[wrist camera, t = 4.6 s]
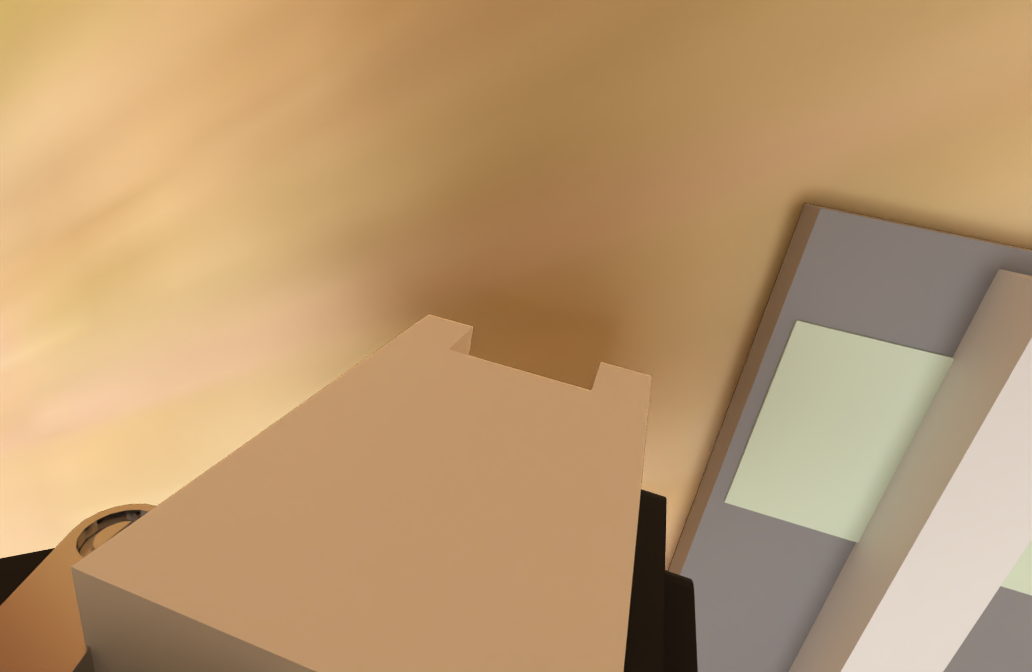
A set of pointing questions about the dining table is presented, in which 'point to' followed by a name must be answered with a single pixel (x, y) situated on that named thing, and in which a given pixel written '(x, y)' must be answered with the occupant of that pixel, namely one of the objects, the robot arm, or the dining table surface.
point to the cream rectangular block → (393, 529)
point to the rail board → (874, 462)
